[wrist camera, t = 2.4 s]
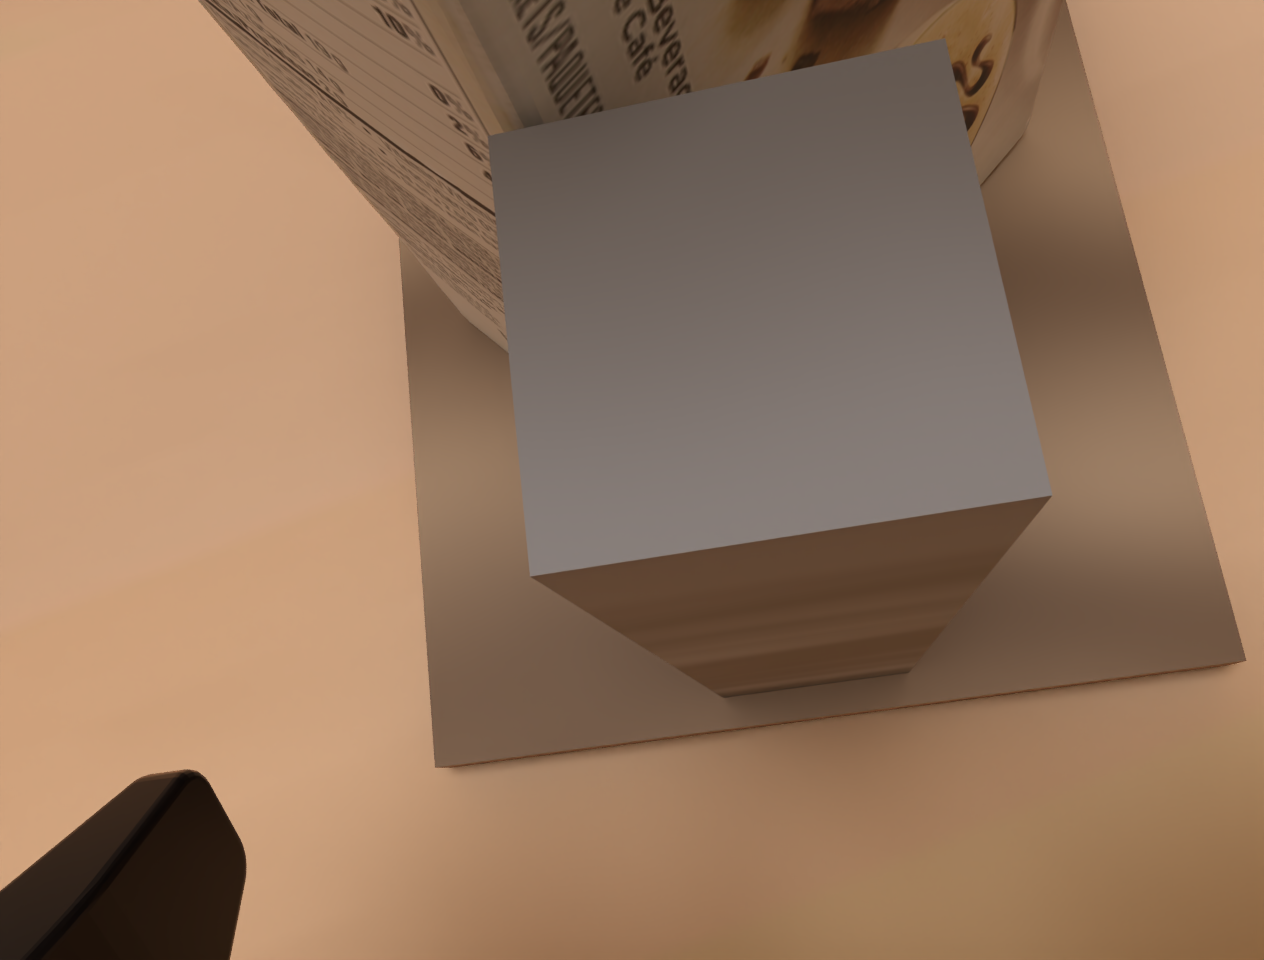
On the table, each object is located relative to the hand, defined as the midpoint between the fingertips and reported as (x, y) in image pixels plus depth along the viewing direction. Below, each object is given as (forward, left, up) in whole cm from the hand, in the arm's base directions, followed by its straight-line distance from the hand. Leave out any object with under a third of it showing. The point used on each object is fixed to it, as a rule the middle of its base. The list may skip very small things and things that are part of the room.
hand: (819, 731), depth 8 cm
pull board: (+8, +2, -11) cm, 14 cm away
